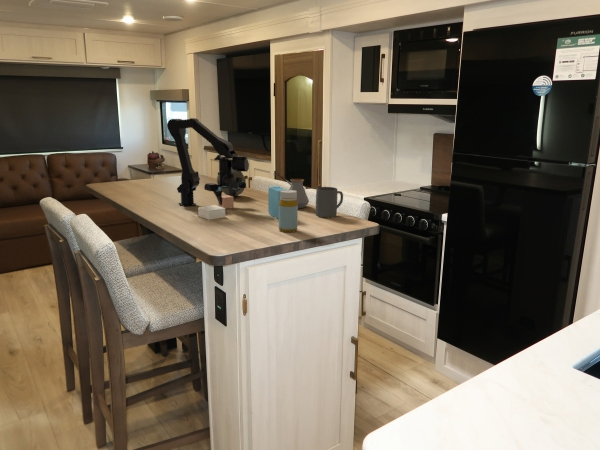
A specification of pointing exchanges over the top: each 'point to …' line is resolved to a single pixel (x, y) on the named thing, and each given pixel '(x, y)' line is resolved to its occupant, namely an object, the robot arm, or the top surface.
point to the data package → (274, 201)
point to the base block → (211, 212)
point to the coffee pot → (297, 186)
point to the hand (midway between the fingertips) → (226, 204)
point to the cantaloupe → (236, 174)
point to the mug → (327, 201)
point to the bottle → (288, 211)
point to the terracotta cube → (227, 202)
